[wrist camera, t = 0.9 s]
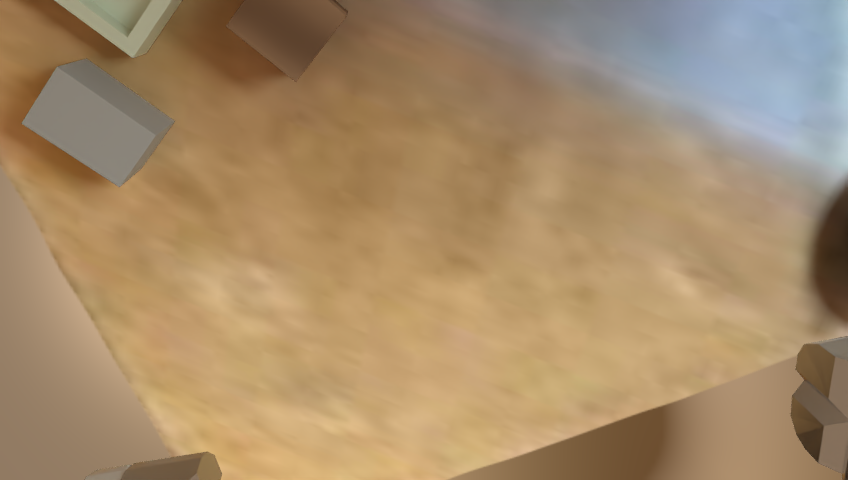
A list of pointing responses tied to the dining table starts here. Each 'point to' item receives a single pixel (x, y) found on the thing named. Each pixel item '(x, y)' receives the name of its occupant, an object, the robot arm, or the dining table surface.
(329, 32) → the walnut block
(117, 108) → the slate block
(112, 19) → the tray
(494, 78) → the dining table surface
